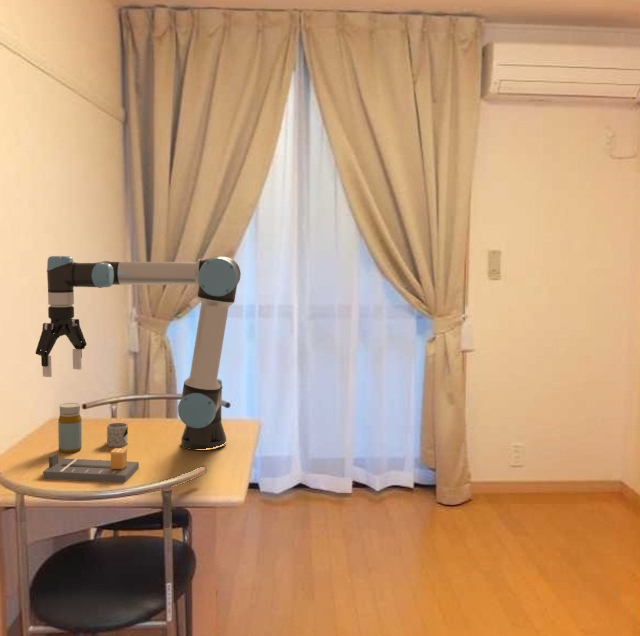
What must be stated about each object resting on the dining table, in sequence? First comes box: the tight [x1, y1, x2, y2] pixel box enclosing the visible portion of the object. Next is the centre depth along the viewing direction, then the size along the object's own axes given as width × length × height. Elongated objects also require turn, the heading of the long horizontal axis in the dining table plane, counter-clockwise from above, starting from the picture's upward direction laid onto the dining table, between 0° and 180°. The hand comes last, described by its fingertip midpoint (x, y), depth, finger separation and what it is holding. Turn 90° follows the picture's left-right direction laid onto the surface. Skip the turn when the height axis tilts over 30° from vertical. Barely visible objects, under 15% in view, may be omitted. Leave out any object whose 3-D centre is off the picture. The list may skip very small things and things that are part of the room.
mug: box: [106, 422, 129, 448], centre depth 229 cm, size 10×7×7 cm, turn 20°
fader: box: [109, 447, 128, 469], centre depth 199 cm, size 4×4×5 cm
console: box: [42, 452, 140, 483], centre depth 199 cm, size 24×12×5 cm, turn 87°
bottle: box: [57, 402, 83, 454], centre depth 219 cm, size 7×7×15 cm
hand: (62, 372), depth 213 cm, fingers open, 13 cm apart
